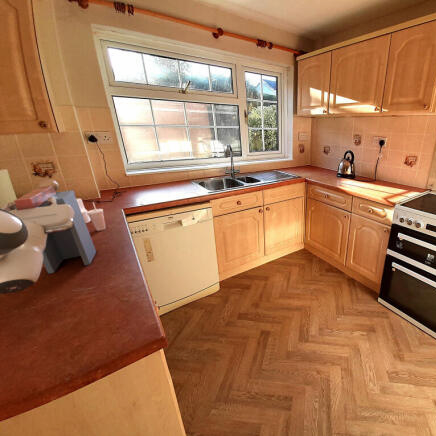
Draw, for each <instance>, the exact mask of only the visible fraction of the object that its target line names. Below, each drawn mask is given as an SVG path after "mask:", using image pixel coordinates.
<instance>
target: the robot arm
mask: <svg viewBox="0 0 436 436" xmlns="http://www.w3.org/2000/svg"><path fill="white" fill-rule="evenodd" d="M47 202H48V203H49V204H50V205H51V206H46V207H39V208H32V209H24V210H16V208H15V207H16V205H15V203H14V201H13V202H12V201H11V202H5V204H4V206H3V207H0V295H8V294H15V293H18V292H19V293H20V292H22V291H24V290H27V289H29V288H30V287H32V286H34V285H35V284H36V283H37V282H38V280H39V277H40V275H41V272H42V269H43V265H44V264H43V259H44V257H43V251H44V249H45V247H46V240H47V234H48V233H53V232H57V231H64V230H66V229H68V228H70V227H72V225H73V217H74V210H73V209H72V207H71V206H70V205H68V204H62V205H57V203H56V199H55V198H54V197H52V198H48V200H47Z"/></svg>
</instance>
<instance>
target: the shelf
mask: <svg viewBox="0 0 436 436" xmlns="http://www.w3.org/2000/svg"><path fill="white" fill-rule="evenodd" d="M55 193H56V194H55V195H54V196H52V197H54V198H55V199H56V203H57V205H62V204H68V205H70V206H71V207H72V209H73V210H74V217H73V225H72V227H70V228H68V229H66V230H64V231H57V232H53V233H48V234H47V240H46V247H45V249H44V251H43V257H44V259H43V265H44V268H45V270H46V273H47V274H49V275H50V274H53V273H55V272H56V271H57V269H58V268H59V266H60V265H61V263H62V262H63V261H64V260H67V259H68V260H69V259H73V258H77V257H81V260H82V262H83V264H84V266H90V265H91V263H92V261H93V259H94V257H95V256H96V253H97V250H96V247H95V244H94V242H93V239H92V237H91V234H90V231H89V228H88V226H87V223H85V221H84V218H83V216H82V213H81V210H80V208H79V205H78V202H77V200H76V199H77V197H76V194H75V191H74V190H64V191H56V192H55ZM52 197H51V198H52ZM46 206H51V205H50V204H49V203H48V202H47V200H46V201H45V202H43V203H42V204H40V205H39V206H38V207H36V208H39V207H46ZM15 208H16V209H15V211H16V210H18V209H17V207H15Z"/></svg>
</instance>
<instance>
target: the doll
mask: <svg viewBox="0 0 436 436" xmlns="http://www.w3.org/2000/svg"><path fill="white" fill-rule="evenodd" d="M59 189H60V185H59V183H58V182H57V181H56V180H54V179H51V178H46V179H43V180H41V181H40V182H39V184H38V187H36V188H34V189H33V190H31V191H29V192H28V193H25V194H24V195H22V196H19V197H18V198H16V199H13V203H14V204H15V205H16V207H17V209H18V210H24V209H32V208H36V207H38V206H39V205H40V204H42V203H43V202H45V201H46V200H48V198H51V197H52V196H54V195H55V194H56V193H55V192H58V191H59Z"/></svg>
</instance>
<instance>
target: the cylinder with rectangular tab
mask: <svg viewBox="0 0 436 436" xmlns="http://www.w3.org/2000/svg"><path fill="white" fill-rule="evenodd" d="M82 199H83V198H76V200H77V202H78V205H79V208H80V210H81V213H82V216H83V218H84V221H85V223H86V224H88V223H90V222H92V221H91V219H90V217H89V215H87V212H88V209H86V208H85V205H84V202H83V200H82Z"/></svg>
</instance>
